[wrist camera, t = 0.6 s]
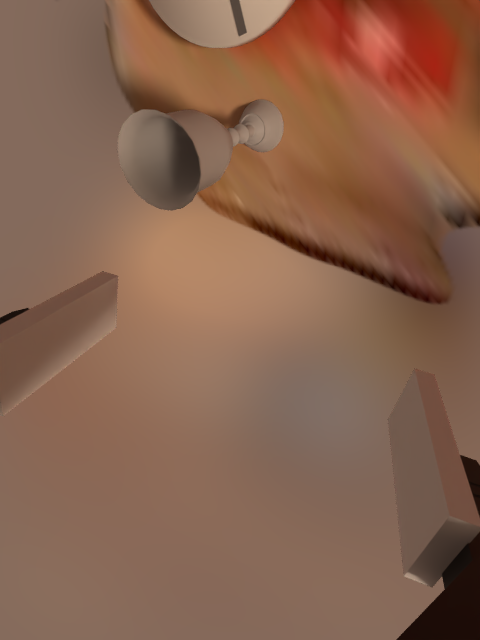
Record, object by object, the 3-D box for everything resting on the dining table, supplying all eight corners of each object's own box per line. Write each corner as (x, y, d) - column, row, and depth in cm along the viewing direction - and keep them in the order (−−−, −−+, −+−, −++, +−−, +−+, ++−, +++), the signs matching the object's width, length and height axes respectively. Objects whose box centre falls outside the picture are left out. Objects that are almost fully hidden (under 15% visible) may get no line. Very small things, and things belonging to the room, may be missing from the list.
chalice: (228, 153, 43) (122, 196, 30) (233, 84, 39) (112, 100, 26) (287, 167, 41) (199, 221, 28) (299, 95, 37) (202, 119, 24)
